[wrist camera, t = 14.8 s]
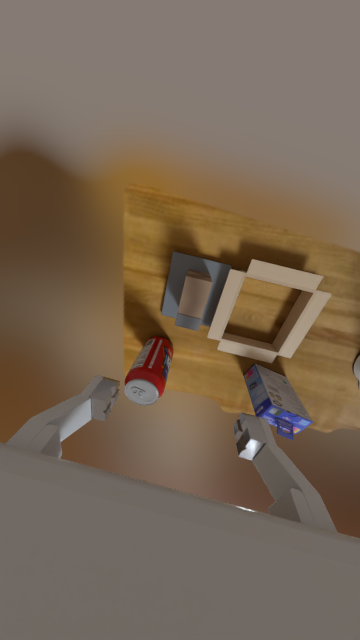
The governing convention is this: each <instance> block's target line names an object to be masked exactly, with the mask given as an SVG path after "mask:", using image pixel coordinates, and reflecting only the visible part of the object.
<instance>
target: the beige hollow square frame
mask: <svg viewBox="0 0 360 640" xmlns="http://www.w3.org/2000/svg"><path fill="white" fill-rule="evenodd" d="M245 276H247V277H251V278H255V279H259V280H263V281H267V282H271V283H275V284H279V285H283V286H287V287H291V288H295V289H299V290H302V291H301V293H300V295H299V297H298V298H297V300H296V302H295V304H294V306H293V307H292V309H291V311H290V313H289V315H288V316H287V318H286V320H285V322H284V324H283V325H282V327H281V329H280V331H279V332H278V334H277V336H276V338H275V340H274V341H273V343H272V344H270V343H266V342H262V341H257V340H253V339H249V338H245V337H241V336H237V335H233V334H229V333H225V332H224V330H225V328H226V325H227V323H228V320H229V318H230V315H231V312H232V310H233V307H234V305H235V302H236V300H237V297H238V294H239V292H240V289H241V287H242V284H243V282H244V279H245ZM323 277H324V276H320V275H316V274H311V273H307V272H303V271H299V270H295V269H291V268H287V267H283V266H279V265H275V264H271V263H267V262H263V261H258V260H254V259H252V260H251V262H250V265H249V267H248V270H247V271H243V270H239V271H237V270H233V269H230V271H229V274H228V277H227V280H226V283H225V285H224V288H223V291H222V294H221V297H220V300H219V303H218V306H217V309H216V312H215V315H214V318H213V321H212V323H211V326H210V329H209V332H208V335H207V338H211V339H215V340H219V341H220V342H219V345H218V347H217V350H220V351H224V352H228V353H232V354H236V355H240V356H244V357H248V358H252V359H256V360H260V361H264V362H268V363H272V362H273V361H274V359H275V357H276V356H277V355H280V356H284V357H288V358H291V357H292V355H293V354H294V352H295V350H296V349H297V347H298V346H299V344H300V343H301V341H302V340H303V338H304V337H305V335H306V333H307V332H308V330H309V329H310V327H311V326H312V324H313V323H314V321H315V320H316V318H317V316H318V315H319V313H320V312H321V310H322V309H323V307H324V306H325V304H326V303H327V301H328V299H329V298H330V296H331V295H332V294H331V293H327V292H323V291H319V290H316V288H317V287H318V285H319V283H320V282H321V280H322V278H323Z"/></svg>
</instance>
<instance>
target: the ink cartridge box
mask: <svg viewBox="0 0 360 640" xmlns="http://www.w3.org/2000/svg"><path fill="white" fill-rule="evenodd" d="M244 379H245V382H246V385H247V388H248V391H249V395H250V398H251V401H252V404H253V407H254V411H255V414H256V416H257V417H261V418H265V419H266V420H267V421H268V424H271V425H274V426H276V427H277V433H278V434H279V435H282V436H285V437H287V438H289V439H291V440H293V433H294V434H297V433H299V432H300V431H302V430H303V429H305V428H306V427H307V426H309V425H310V424H311V423H313V421H312V419H311V417H310V416H309V414H308V412H307V411H306V409H305V407H304V406H303V404H302V402H301V401H300V399H299V397H298V396H297V394H296V392H295V391H294V389H293V387H292V386H291V384H290V382H289V381H288V379H287V377H285V376H282V375H280V374H278V373H276V372H273V371H271V370H269V369H266V368H264V367H262V366H260V365H257V364H254V365H253V366H252V368H251V369H250V370H249V371H248V372H247V373H246V374H245V375H244ZM280 428H281V429H284V430H286V431H289V432H290V433H285V432H283V431H282V430H281V429H280Z"/></svg>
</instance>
